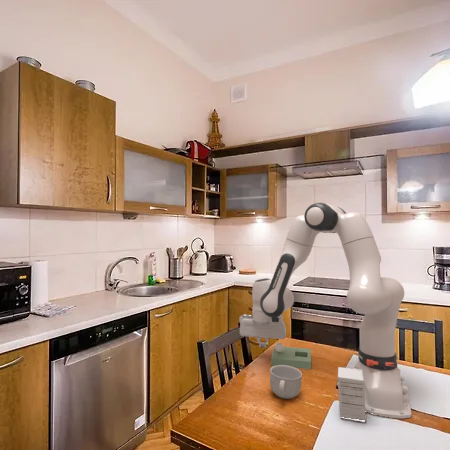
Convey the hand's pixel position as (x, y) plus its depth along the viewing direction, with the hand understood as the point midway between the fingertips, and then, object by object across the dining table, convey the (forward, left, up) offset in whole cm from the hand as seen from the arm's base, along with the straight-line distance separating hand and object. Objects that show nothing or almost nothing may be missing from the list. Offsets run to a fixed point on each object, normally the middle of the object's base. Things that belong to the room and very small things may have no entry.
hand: (262, 347), depth 141 cm
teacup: (-30, -11, -5) cm, 32 cm away
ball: (0, -7, 0) cm, 7 cm away
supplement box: (-36, -32, -5) cm, 49 cm away
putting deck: (0, -12, -5) cm, 13 cm away
